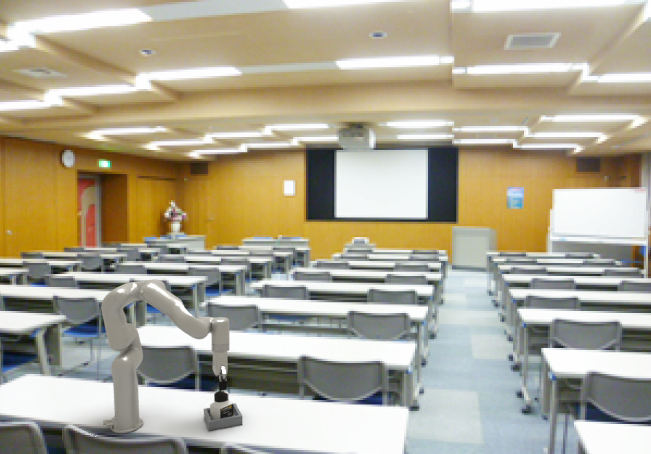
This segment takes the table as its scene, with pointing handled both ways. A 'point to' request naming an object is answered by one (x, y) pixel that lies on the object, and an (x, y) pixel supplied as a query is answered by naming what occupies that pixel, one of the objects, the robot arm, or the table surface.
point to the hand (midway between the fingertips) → (220, 386)
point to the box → (223, 420)
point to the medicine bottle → (221, 406)
